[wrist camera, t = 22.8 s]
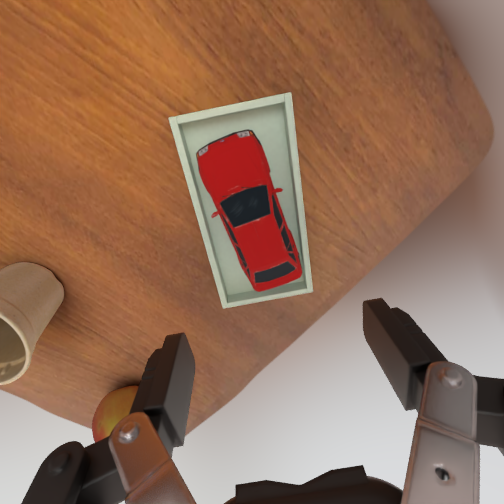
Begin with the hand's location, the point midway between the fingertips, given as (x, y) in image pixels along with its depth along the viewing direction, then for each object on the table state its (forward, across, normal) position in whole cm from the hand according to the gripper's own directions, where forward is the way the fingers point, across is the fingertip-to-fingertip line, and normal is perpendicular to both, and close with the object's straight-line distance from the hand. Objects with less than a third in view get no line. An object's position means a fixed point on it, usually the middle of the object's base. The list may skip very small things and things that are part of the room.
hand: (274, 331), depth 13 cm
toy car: (+17, 0, 0) cm, 17 cm away
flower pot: (+17, +24, +3) cm, 30 cm away
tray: (+17, 0, 0) cm, 17 cm away
